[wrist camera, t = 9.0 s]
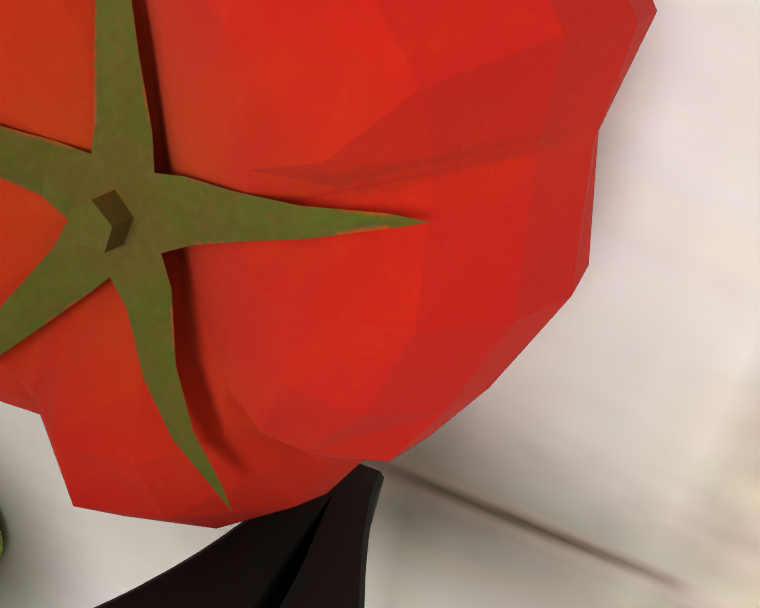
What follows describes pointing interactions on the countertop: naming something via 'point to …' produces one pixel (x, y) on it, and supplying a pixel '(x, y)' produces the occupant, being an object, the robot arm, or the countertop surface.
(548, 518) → the countertop surface
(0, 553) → the plant pot
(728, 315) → the countertop surface
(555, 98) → the tomato
